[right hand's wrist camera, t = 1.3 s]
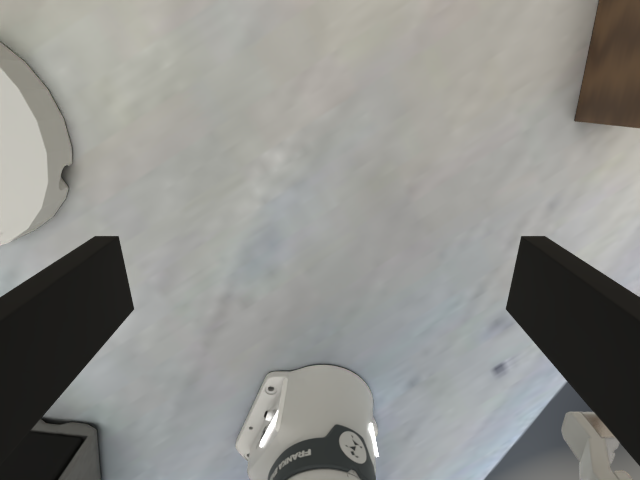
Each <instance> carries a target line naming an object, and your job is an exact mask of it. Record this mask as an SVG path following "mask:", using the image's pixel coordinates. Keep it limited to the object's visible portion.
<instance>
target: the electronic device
mask: <svg viewBox="0 0 640 480" xmlns="http://www.w3.org/2000/svg"><path fill="white" fill-rule="evenodd" d="M0 480H101V475H100V463H99V451H98V439H97V430H96V429H95V428H93V427H91V426H90V425H88V424H84V423H75V422H70V423H65V424H61V425H57V424H48V423H45V422H44V421H43V420H41V419H40V420H39V421H38V422H37V424H36V425H35V426H34V427H33V428H32V429H31V431H30V432H29V433H28V434H27V435H26V436H25V438H24V439H23V440H22V441H21V442H20V443H19V445H18V446H17V447H16V448H15V449H14V450H13V452H12V453H11V454H10V455H9V456H8V457H7V459H6V460H5V461H4V462H3V463H2V465H1V466H0Z"/></svg>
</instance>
